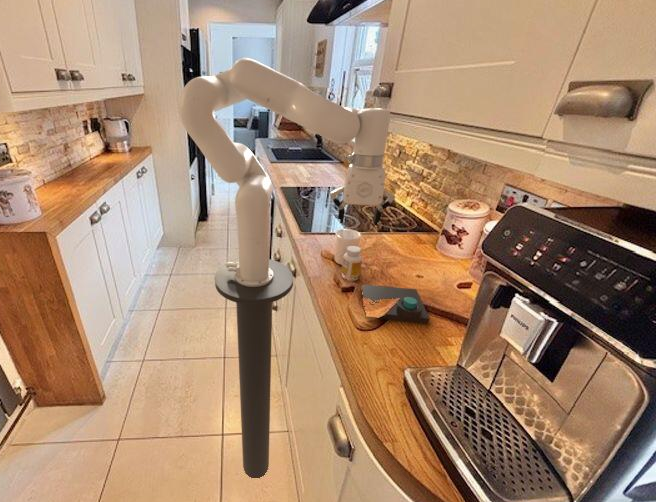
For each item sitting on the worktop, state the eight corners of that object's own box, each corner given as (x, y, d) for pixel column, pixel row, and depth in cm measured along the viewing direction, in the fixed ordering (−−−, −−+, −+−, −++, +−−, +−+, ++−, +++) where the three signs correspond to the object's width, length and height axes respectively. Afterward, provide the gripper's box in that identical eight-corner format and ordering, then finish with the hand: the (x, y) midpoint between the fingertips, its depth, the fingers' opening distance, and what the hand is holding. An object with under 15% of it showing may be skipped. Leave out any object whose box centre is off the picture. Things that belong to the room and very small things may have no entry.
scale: (365, 318, 83) (367, 307, 81) (360, 289, 94) (362, 279, 93) (428, 325, 80) (432, 314, 79) (414, 294, 92) (417, 283, 90)
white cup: (347, 253, 114) (351, 227, 109) (361, 264, 107) (366, 236, 103) (328, 257, 111) (331, 231, 107) (341, 268, 105) (345, 240, 100)
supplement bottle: (360, 274, 102) (364, 246, 97) (356, 283, 97) (361, 254, 93) (343, 270, 104) (346, 243, 99) (338, 278, 99) (342, 250, 95)
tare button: (404, 309, 81) (405, 303, 80) (401, 301, 84) (403, 296, 83) (417, 310, 81) (418, 304, 80) (414, 303, 83) (415, 297, 82)
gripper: (333, 162, 82) (327, 225, 90) (406, 165, 79) (392, 229, 87) (332, 156, 89) (326, 215, 97) (399, 158, 86) (387, 219, 94)
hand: (358, 222), depth 92 cm, fingers open, 8 cm apart
